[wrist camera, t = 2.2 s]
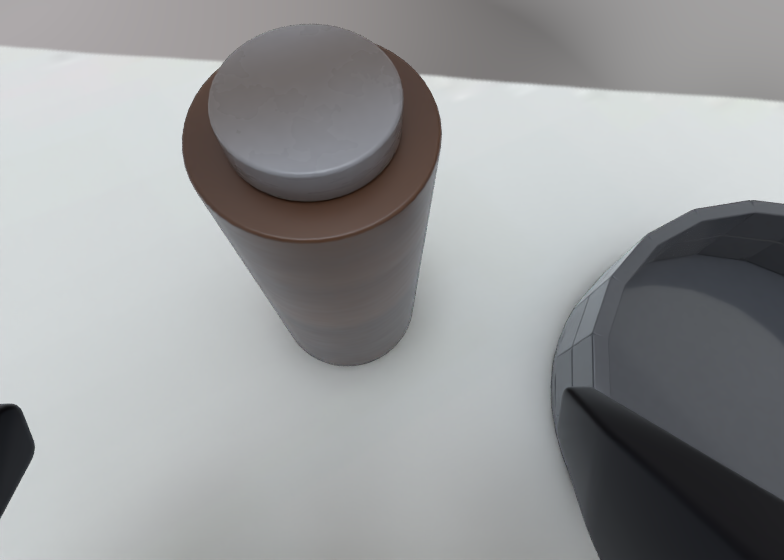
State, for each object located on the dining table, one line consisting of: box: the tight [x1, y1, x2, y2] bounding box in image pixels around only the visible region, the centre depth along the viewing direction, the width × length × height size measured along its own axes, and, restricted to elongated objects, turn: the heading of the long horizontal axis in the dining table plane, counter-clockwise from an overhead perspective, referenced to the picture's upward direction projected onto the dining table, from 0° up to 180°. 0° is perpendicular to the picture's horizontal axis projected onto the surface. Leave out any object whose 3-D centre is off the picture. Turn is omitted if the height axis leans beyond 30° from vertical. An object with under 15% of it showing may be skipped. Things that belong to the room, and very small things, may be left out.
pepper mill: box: [182, 24, 442, 366], centre depth 16 cm, size 6×6×13 cm
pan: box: [551, 200, 784, 501], centre depth 18 cm, size 15×15×4 cm
